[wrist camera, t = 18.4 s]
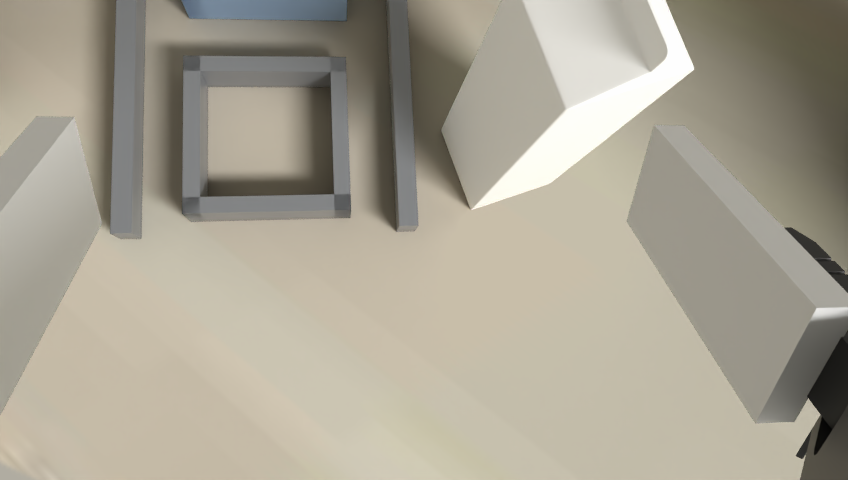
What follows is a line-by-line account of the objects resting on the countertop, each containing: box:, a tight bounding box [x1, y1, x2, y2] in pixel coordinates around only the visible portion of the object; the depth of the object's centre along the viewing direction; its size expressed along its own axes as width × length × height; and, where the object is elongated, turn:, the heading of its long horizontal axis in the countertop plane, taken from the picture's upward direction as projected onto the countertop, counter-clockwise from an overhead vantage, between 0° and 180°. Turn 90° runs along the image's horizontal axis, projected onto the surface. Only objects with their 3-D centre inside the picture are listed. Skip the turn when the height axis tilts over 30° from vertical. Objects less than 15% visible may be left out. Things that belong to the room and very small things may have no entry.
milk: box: [441, 0, 694, 210], centre depth 34 cm, size 6×6×22 cm
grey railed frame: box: [110, 0, 418, 239], centre depth 43 cm, size 18×26×3 cm
